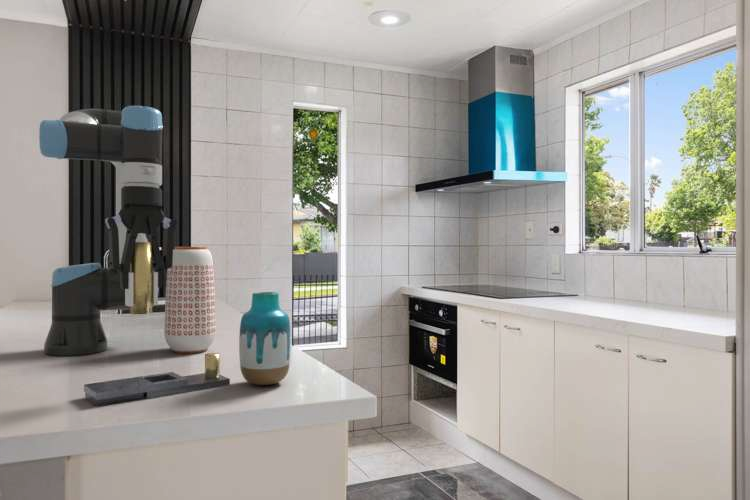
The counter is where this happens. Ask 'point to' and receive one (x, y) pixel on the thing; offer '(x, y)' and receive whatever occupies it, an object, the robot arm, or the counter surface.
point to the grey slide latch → (156, 384)
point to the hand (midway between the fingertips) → (141, 304)
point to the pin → (142, 278)
